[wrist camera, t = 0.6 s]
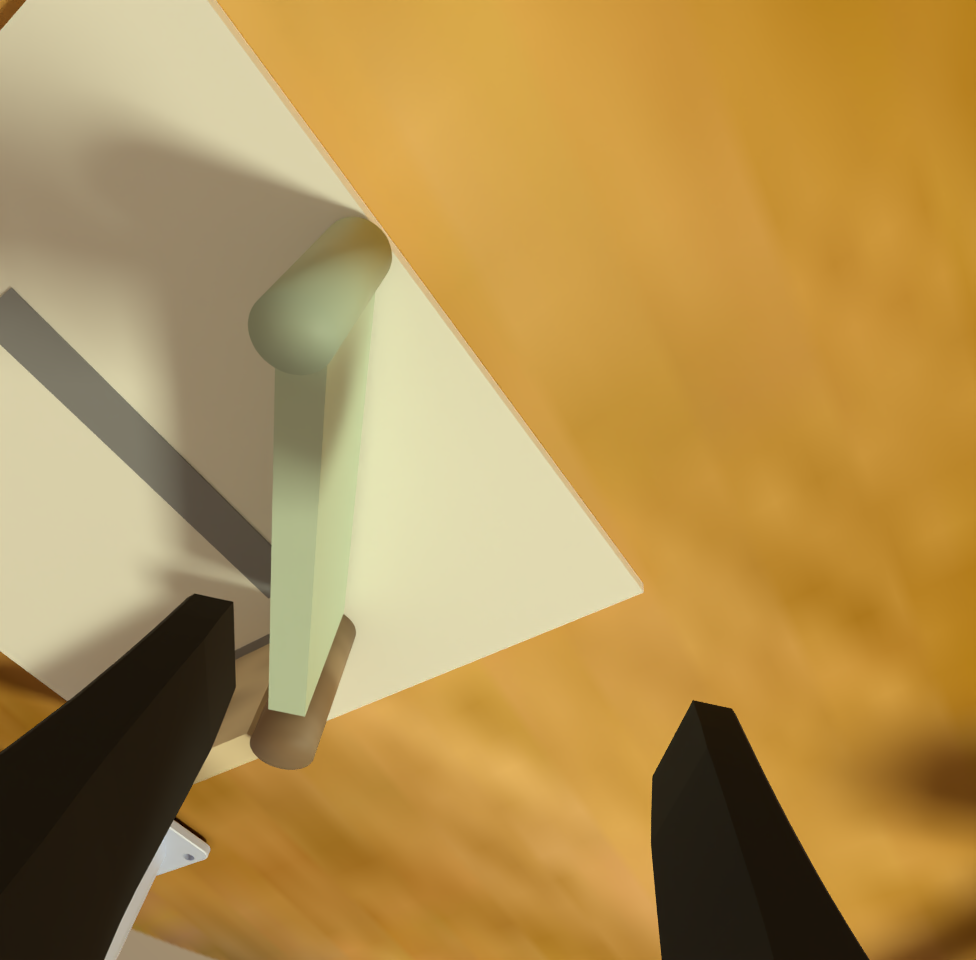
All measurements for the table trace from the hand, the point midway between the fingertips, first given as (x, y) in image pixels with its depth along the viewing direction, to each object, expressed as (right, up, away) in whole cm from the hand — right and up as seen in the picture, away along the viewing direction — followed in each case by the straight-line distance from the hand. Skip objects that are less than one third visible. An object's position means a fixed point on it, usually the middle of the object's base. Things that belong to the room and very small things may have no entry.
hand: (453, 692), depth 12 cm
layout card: (-9, +3, +11) cm, 14 cm away
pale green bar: (-3, +4, +8) cm, 10 cm away
